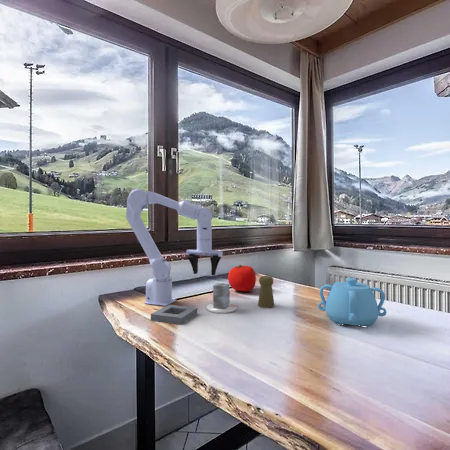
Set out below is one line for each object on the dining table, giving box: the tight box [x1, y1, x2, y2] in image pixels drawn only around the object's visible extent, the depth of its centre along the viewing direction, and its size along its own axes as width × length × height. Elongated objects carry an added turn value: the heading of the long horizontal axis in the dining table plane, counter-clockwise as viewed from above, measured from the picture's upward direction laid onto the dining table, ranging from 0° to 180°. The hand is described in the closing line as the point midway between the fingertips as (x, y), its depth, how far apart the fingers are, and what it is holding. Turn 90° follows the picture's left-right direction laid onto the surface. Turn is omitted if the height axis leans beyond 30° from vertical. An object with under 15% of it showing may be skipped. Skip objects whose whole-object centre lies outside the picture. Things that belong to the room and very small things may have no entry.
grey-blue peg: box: [212, 282, 231, 309], centre depth 114 cm, size 4×4×8 cm
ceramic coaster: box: [205, 302, 238, 314], centre depth 114 cm, size 11×11×1 cm
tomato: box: [227, 264, 257, 292], centre depth 139 cm, size 12×14×11 cm
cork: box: [257, 275, 275, 309], centre depth 117 cm, size 6×6×11 cm
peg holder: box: [150, 304, 198, 325], centre depth 105 cm, size 11×11×2 cm
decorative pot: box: [317, 277, 387, 326], centre depth 100 cm, size 16×16×14 cm
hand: (204, 274), depth 124 cm, fingers open, 7 cm apart
